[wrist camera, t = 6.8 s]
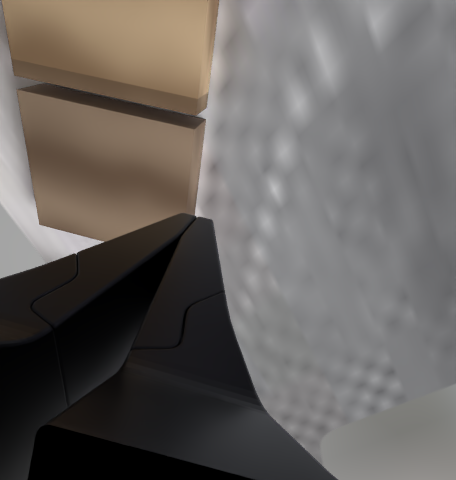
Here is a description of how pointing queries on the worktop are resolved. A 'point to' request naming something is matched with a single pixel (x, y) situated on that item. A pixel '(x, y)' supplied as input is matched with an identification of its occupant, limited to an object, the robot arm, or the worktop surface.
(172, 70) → the tan rectangular slab
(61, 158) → the tan flat block
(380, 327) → the worktop surface
